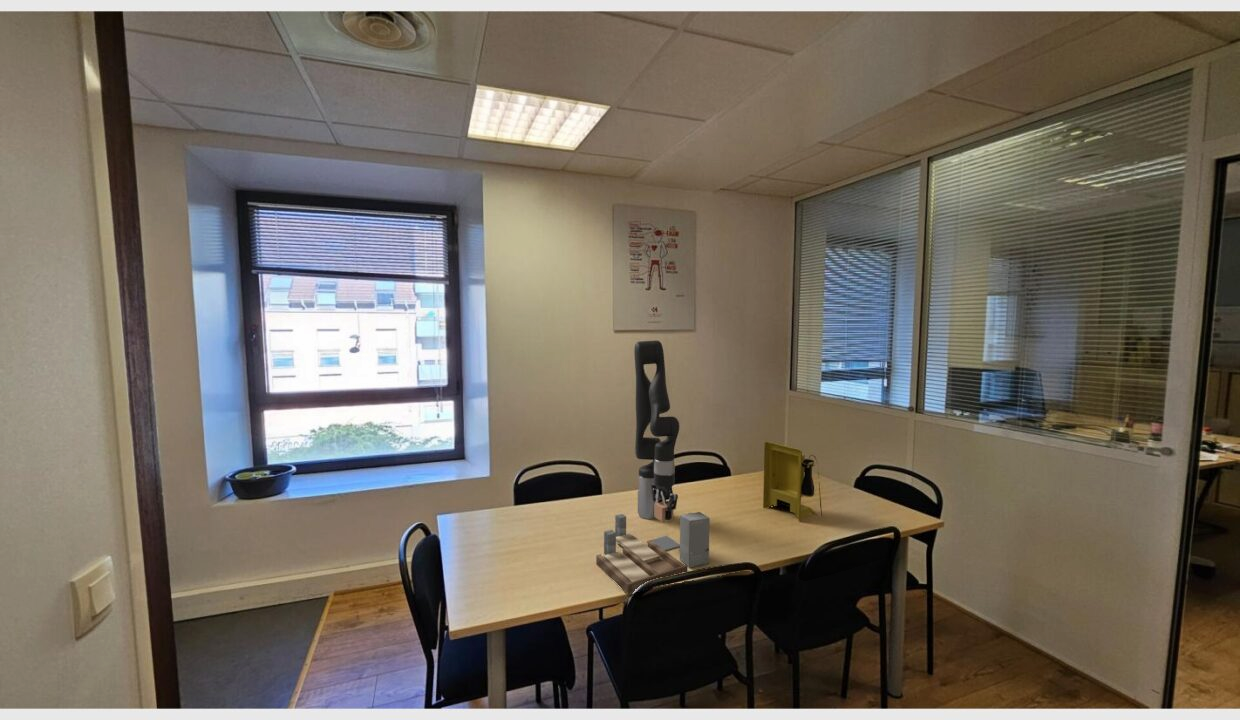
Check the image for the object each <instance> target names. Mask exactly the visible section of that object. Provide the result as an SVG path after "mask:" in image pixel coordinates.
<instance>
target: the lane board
mask: <svg viewBox="0 0 1240 720" xmlns="http://www.w3.org/2000/svg"><path fill="white" fill-rule="evenodd" d="M647 541H648V543H647V546H648V547H649V548H650V549H652V550H653V551H654V552H656V553H657V554H658V555H660V559H659V560H655V561H652V562H648V563H645V562H644V561H643V560H641V559H640V558H639V557H638V556H637V555H635V554H634V553H633V552H632V551H631V550H629V549H628V548H627V547H626V548H624V547H622V553H623V554H625V555H626V556H627V557H628V558H629V559H630V560H632V561H633V562H634V563H635V564H636V565H637V566H639V567H640V568H641V569H642V570H643V571H644V572H646V573H647V574H648V575H649V577H646V578H643V579H639V580H636V581H633V582H629V581H628V580H627V579H626V578H625V577H624V576H623V575H622V574H621V573H620V572H619V571H618V570H617V569H615V568H614V567H613V566H612V565H611V564H610V563H609V562H608V561H607V560H606V559H605V558H604V555H602V554H597V555H595V558H596V559H595V560H596V562H595V564H596V565H597V567H599V569H601V570H602V571H603V572H604V573H605V574H606V575H607V577H609V578H610V579H611V578H612V579H613V580H614V581H615V582H616V583H617V584H618V585H619V586H620V587H621V588H622V589H623V590H622V589H621V588H620V587H619V586H618V585H617V584H616V583H615V582H614V581H613V580H612V579H611V580H612V581H613V582H614V583H615V584H616V585H617V586H618V587H619V588H620V589H621V590H622V591H623V592H624V593H625V594H626V596H632V595H633V594H632V593H633V592H634V591H635V589H637V588H638V587H639V586H640V585H642V584H644V583H645V582H647V581H650V580H653V579H656V578H660V577H666V576H671V575H674V574H679V573H682V572H687V573H688V566H687V565H686V564H685V563H684V562H682V561H681V560H680V559H679V560H678V559H677V558H676V557H674V556H673V555H672V554H670V553H669V552H668V551H665V550H663V549H662V548H661V547H659V546H658V545H656V544H655V543H654V542H652V541H649V540H647ZM631 594H632V595H631Z"/></svg>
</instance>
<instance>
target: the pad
mask: <svg viewBox="0 0 1240 720" xmlns="http://www.w3.org/2000/svg"><path fill="white" fill-rule="evenodd" d="M648 541H652V542H654V543H655V544H656V545H658V546H659V547H661V548H662V549H663V550H665V551H666V552H668V551H669V550H674V549H678V548H680V543H678V542H677V541H675V540H674V539H672V538H671V537H669V536H668V535H664V536H661V537H657V538H653V539H650V540H647V541H646V544H648Z"/></svg>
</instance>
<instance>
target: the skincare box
mask: <svg viewBox="0 0 1240 720" xmlns="http://www.w3.org/2000/svg"><path fill="white" fill-rule="evenodd" d="M679 520H680V521H679V544H680V547H679V561H680V562H681V563H683V564H684V565H687V568H694V567H699V566H701V565H706V564H709V562H710V517H709V516H707V515H706V514H704V513H702V512H701V511H698V512H689V513H683V514H682V513H681V514H680V515H679Z"/></svg>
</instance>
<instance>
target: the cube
mask: <svg viewBox="0 0 1240 720" xmlns="http://www.w3.org/2000/svg"><path fill="white" fill-rule="evenodd" d="M672 506H673V505H672ZM668 507H669V503H668ZM665 510H666V509H665V504H664V503H663V502H659V503H655V504H654V517H655V518H654V519H657V520H659V521H660V522H666V521H667V522H668V520H665ZM671 520H674V510H672V518H671ZM671 520H670V521H671Z"/></svg>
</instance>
